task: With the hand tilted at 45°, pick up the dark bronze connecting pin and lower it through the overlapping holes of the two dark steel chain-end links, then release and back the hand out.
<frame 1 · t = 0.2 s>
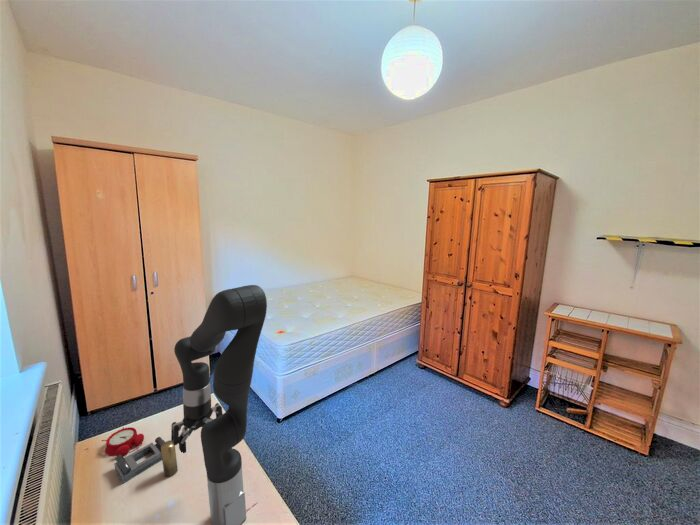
hand: (198, 443, 89), 18 cm above the table, tool pointing down, fingers open, 8 cm apart
bronze pin: (171, 472, 99), on the table
alarm clock: (125, 447, 110), on the table
chain ends: (144, 461, 103), on the table
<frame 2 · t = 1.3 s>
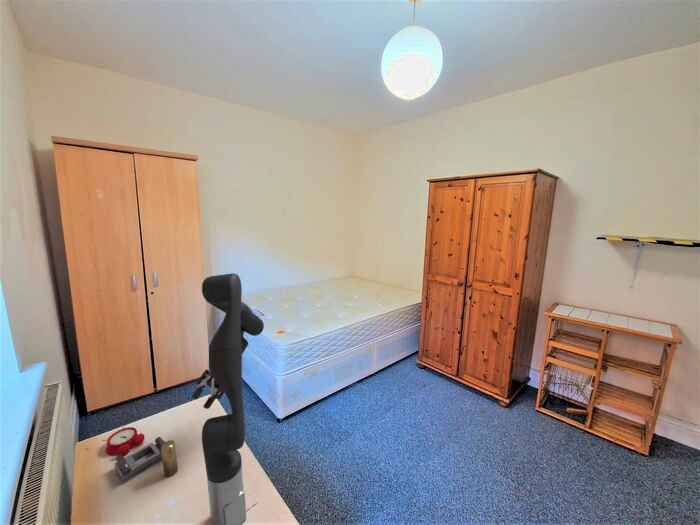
hand: (199, 403, 104), 20 cm above the table, tool tilted 45°, fingers open, 8 cm apart
nothing on the table moved.
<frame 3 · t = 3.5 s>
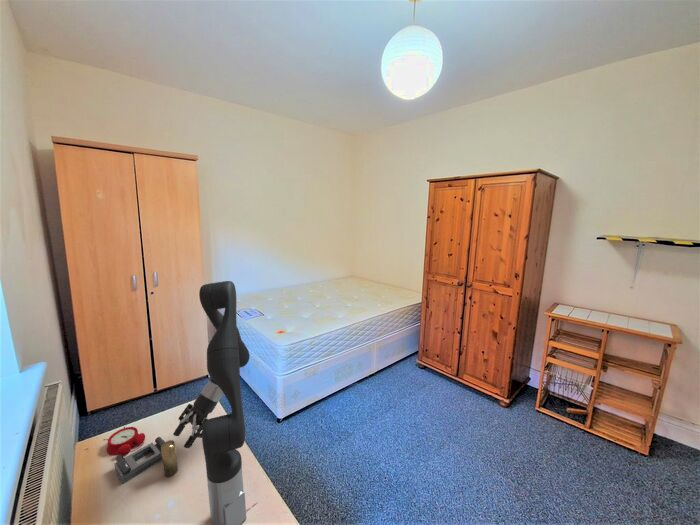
hand: (180, 441, 100), 9 cm above the table, tool tilted 45°, fingers open, 8 cm apart
nothing on the table moved.
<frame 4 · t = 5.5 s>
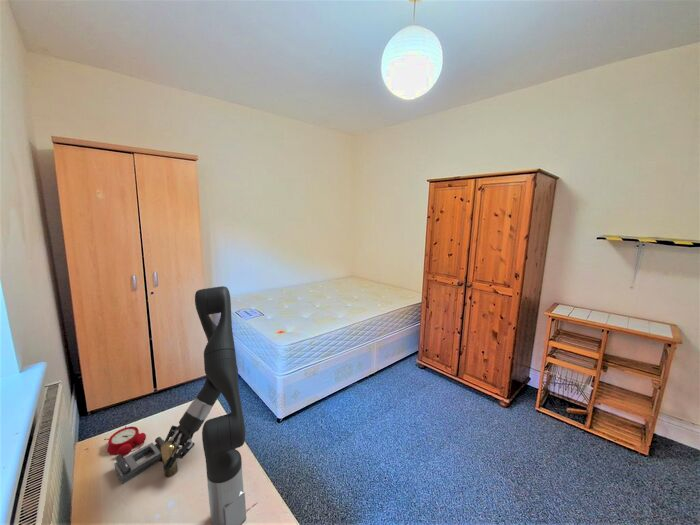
hand: (163, 465, 96), 5 cm above the table, tool tilted 45°, fingers closed on bronze pin, 4 cm apart
bronze pin: (171, 472, 99), on the table, touching gripper
everything else where it was.
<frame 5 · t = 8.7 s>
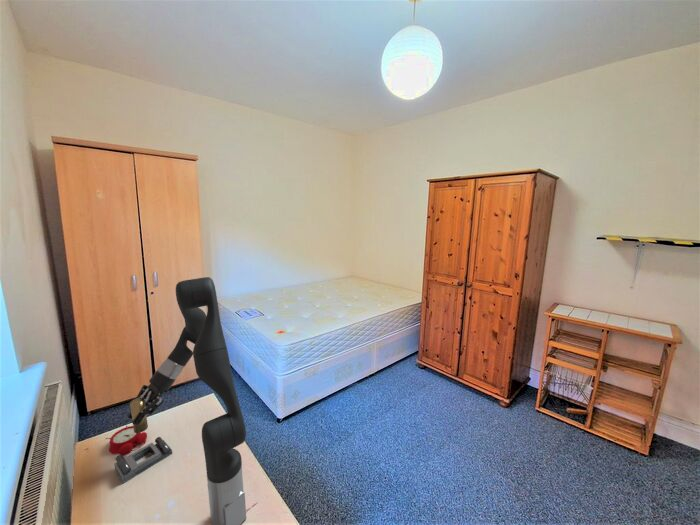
hand: (132, 420, 98), 18 cm above the table, tool tilted 45°, fingers closed on bronze pin, 4 cm apart
bronze pin: (141, 428, 101), point 14 cm above the table, touching gripper
when the fingers open (5 cm above the table, at t = 12.0 s): bronze pin stays where it is, resting in chain ends.
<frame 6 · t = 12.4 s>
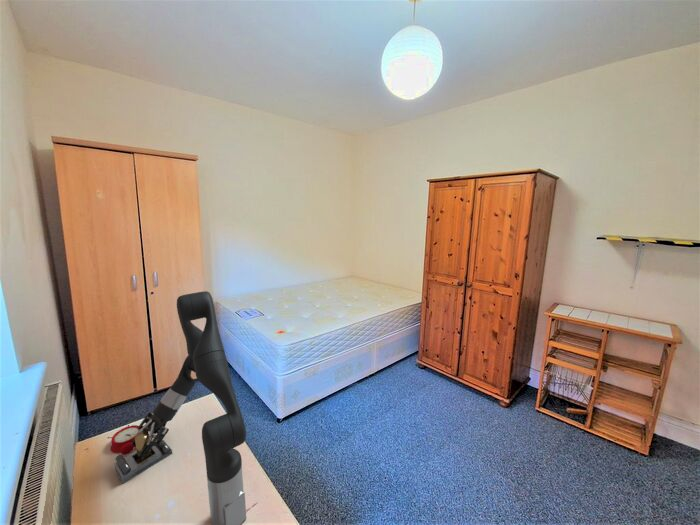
hand: (137, 450, 100), 6 cm above the table, tool tilted 45°, fingers open, 7 cm apart
bronze pin: (145, 461, 103), resting in chain ends
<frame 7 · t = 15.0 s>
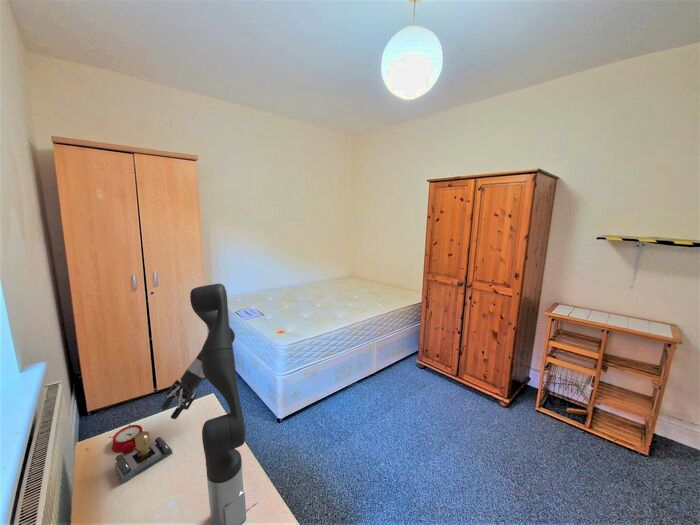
hand: (168, 413, 107), 14 cm above the table, tool tilted 45°, fingers open, 8 cm apart
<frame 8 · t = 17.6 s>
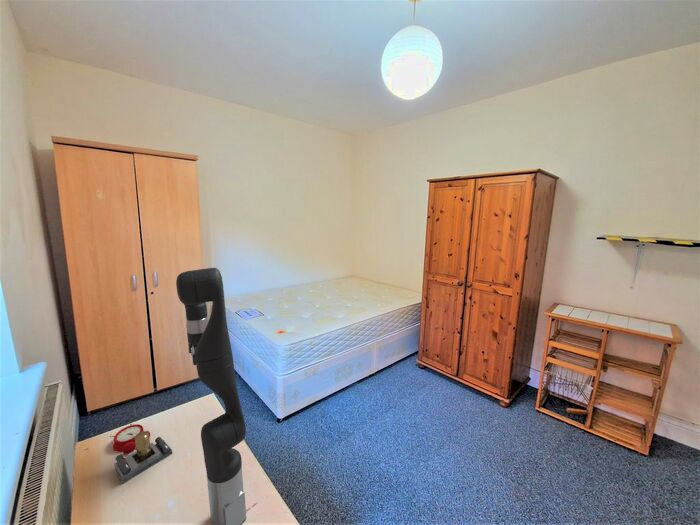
hand: (201, 368, 110), 30 cm above the table, tool pointing down, fingers open, 8 cm apart
at the end: bronze pin 0.1 cm off-centre on the chain ends, point 0.0 cm above the chain ends's base; bronze pin tilted 0°; the gripper is holding nothing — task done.
